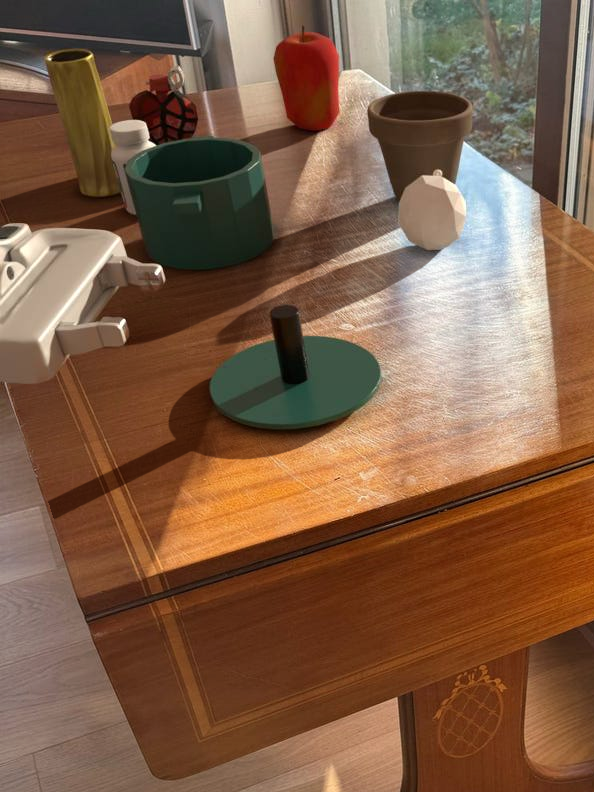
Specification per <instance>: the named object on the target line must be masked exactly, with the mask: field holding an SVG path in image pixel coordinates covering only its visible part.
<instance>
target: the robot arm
mask: <svg viewBox="0 0 594 792" xmlns="http://www.w3.org/2000/svg"><path fill="white" fill-rule="evenodd" d="M165 282H166V276H165V273H164V270H163V267H162V265H161V264H159V263H142V262H140V261H137V260H135V259H133V258H130V257H128V255H127V251H126V249H125V245H124V242H123V240H122V238H121V237H120V235H117V234H116V233H113V232H112V231H109V230H105V229H104V230H103V229H94V228H93V229H92V228H76V227H74V228H73V227H72V228H71V227H68V228H67V227H51V228H50V227H49V228H42V229H38V230H35V231H32V230H31V228H30V226H29V224H27V223H21V222H20V223H19V222H16V223H15V222H13V223H11V222H10V223H6V224H5V225H2V226H0V383H10V384H20V385H37V384H41V383H45V382H48V381H51V380H53V379H54V378H55V377H56V375H57V374H58V373H59V371H60V369H61V368H62V366H63V365H64V364H65V363H66V361H67V360H68V359H69V357H70V356H79V355H83V354H86V353H89V352H92V351H96V350H99V349H102V348H104V347H109V348H110V347H113V348H114V347H115V348H117V347H118V348H119V347H124V345H125V343H126V342H127V340H128V339H129V337H130V335H131V334H130V329H129V328H128V323H127V321H126V319H125V318H123V317H122V316H116V317H112V316H103V317H102V318H101V319H100V320H99V321H96V320H97V318H98V317H99V315H100V314H102V313H101V312H103V310H104V309H105V307H106V306H107V304H108V303H109V302H110V300H111V299H112V298H113V296H114V295H115V293H116V292H117V291H118V289H119V288H121V287H122V288H123V287H124V288H125V287H128V286H129V284H130V285H134V286H138V287H140V291H141V292H150V291H151V292H152V291H153V292H159V291H160V290H161V288H162V287H163V285H164V284H165Z"/></svg>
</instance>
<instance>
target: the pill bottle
mask: <svg viewBox="0 0 594 792" xmlns="http://www.w3.org/2000/svg"><path fill="white" fill-rule="evenodd" d="M112 124H113V125H111V126H110V128H109V129H110V133H111V138H112V140H113V142H114V143H115V144H116V146H115V147H114V148H113V150H112V152H111V158H112V162H113V166H114V169H115V173H116V176H117V180H118V183H119V187H120V190H121V193H120V194H121V197H122V200H123V204H124V208H125V210H126V211H127V212H128V213H129V214H130V215H134V216H136V212H135V208H134V204H133V201H132V197H131V193H130V190H129V186H128V182H127V179H126V175H125V171H124V169H125V167H126V164H127V162H128V160H129V159H130V158H132V157H133V156H135V155H136V154H138V153H139V152H141V151H143V150H146V149H149V148H151V147H154V146H156V145H155V144H154V143H152V142H149V140H148V139H149V132H148V129H147V125H146V123H145V122H143V121H140V120H133V119H127V120H126V119H125V120H122V121H117V122H114V123H112Z"/></svg>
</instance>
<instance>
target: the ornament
mask: <svg viewBox="0 0 594 792" xmlns="http://www.w3.org/2000/svg"><path fill="white" fill-rule="evenodd" d="M441 176H442V172H441V171H440V170H435V171H434V173H433V176H423V175H422V176H421V177H419V178H418V179H417V180H415V181H414V182H413V183H411V184H410V185H409V186H407V187H406V188H405V190H404V192H403V195H402V197H401V200H400V202H398V225H399V227H400V229H401V231H402V232H403V234H404V235H405V236H406V238H407V240H408V241H409V242H410V243H412V244H414V245H416V246H418V247H419V248H422V249H424V250H426V251H441V250H442V251H443V250H444V249H446V248H447V247H449V246H450V245H452V244H453V243H454V242H456V241H457V240H459V239H460V238H461V235H462V232H463V230H464V226H465V224H466V220H467V219H466V218H467V202H466V199H465V198H464V196H463V194H462V193H461V191H460V190H459V188H458V187H457V185H456V183H455V184H453V183H451V182H450V181H448V180H447V179H445V178H443V177H441Z"/></svg>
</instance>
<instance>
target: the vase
mask: <svg viewBox="0 0 594 792" xmlns="http://www.w3.org/2000/svg"><path fill="white" fill-rule="evenodd" d="M43 60H44V64H45V67H46V71H47V75H48V77H49V82H50V85H51V88H52V91H53V95H54V98H55V102H56V105H57V109H58V113H59V116H60V119H61V122H62V123H61V124H62V126H63V129H64V133H65V137H66V140H67V145H68V148H69V150H70V154H71V158H72V161H73V166H74V169H75V172H76V176H77V180H78V187H79V193H81V194H82V195H84V196H86V197H89V198H98V199H99V198H109V197H113V196H118V195H120V194H121V190H120V187H119V183H118V180H117V176H116V173H115V169H114V166H113V162H112V158H111V152H112V150H113V148H114V147H115V146H116V144H115V143H114V142H113V140H112V138H111V133H110V129H109V128H110V126H111V125H113V124H114V123H113V121H112V118H111V114H110V111H109V108H108V104H107V101H106V97H105V93H104V89H103V86H102V82H101V79H100V75H99V72H98V69H97V67H96V63H95V58H94V54H93V52H92V51H90V50H88V49H85V48H69V49H68V48H67V49H62V50H57V51H53V52H51V53H48V54H46V55H45V56H44V58H43Z"/></svg>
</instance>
